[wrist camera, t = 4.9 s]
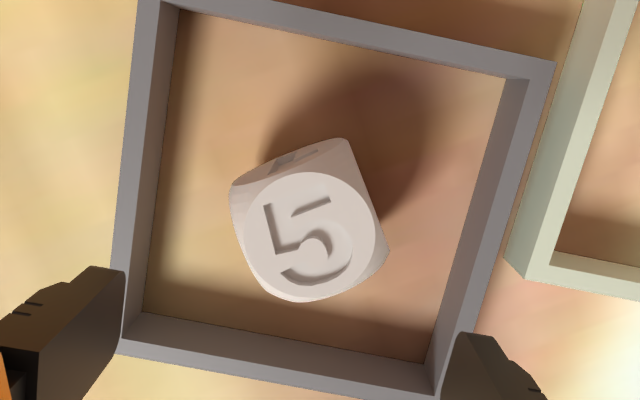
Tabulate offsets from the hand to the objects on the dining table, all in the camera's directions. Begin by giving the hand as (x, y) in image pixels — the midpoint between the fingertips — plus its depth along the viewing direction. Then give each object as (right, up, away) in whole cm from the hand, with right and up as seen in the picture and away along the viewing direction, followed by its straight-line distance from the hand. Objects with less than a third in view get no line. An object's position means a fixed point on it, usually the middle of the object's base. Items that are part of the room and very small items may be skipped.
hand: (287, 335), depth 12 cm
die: (0, +3, +11) cm, 11 cm away
